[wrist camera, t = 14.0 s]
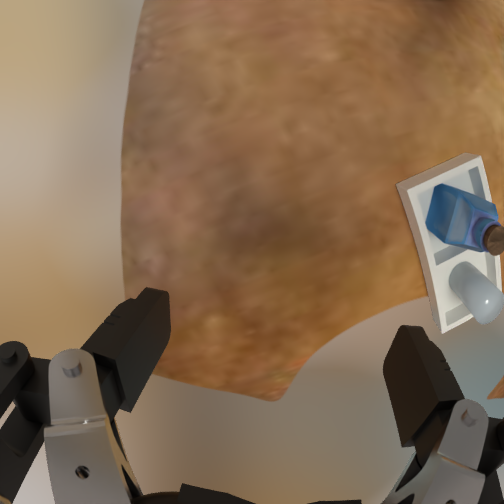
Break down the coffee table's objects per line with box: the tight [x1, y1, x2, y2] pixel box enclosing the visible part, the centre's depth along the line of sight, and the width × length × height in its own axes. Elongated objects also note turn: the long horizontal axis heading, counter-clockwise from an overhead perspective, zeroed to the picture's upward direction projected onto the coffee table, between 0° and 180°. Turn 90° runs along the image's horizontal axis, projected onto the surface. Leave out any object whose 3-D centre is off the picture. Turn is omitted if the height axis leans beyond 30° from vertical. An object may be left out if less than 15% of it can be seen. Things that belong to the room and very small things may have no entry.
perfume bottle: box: [425, 183, 504, 256], centre depth 27 cm, size 6×6×12 cm
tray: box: [396, 153, 502, 333], centre depth 33 cm, size 23×12×4 cm, turn 29°
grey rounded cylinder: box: [449, 261, 504, 324], centre depth 31 cm, size 5×5×9 cm
